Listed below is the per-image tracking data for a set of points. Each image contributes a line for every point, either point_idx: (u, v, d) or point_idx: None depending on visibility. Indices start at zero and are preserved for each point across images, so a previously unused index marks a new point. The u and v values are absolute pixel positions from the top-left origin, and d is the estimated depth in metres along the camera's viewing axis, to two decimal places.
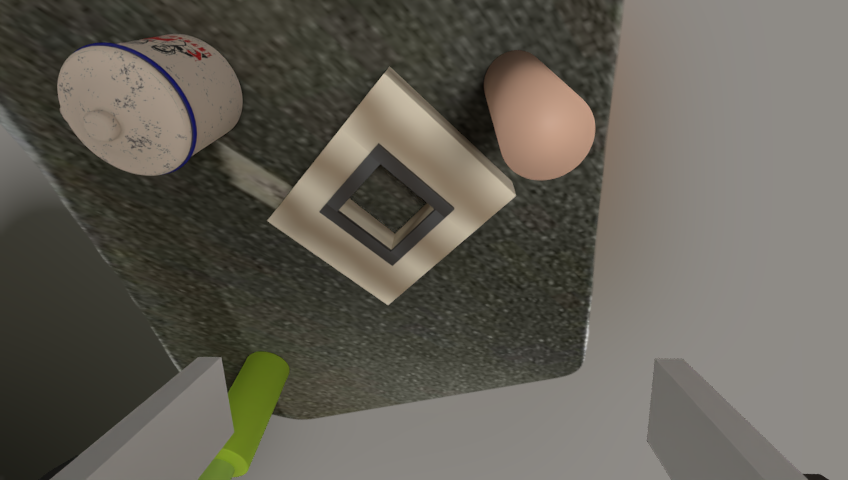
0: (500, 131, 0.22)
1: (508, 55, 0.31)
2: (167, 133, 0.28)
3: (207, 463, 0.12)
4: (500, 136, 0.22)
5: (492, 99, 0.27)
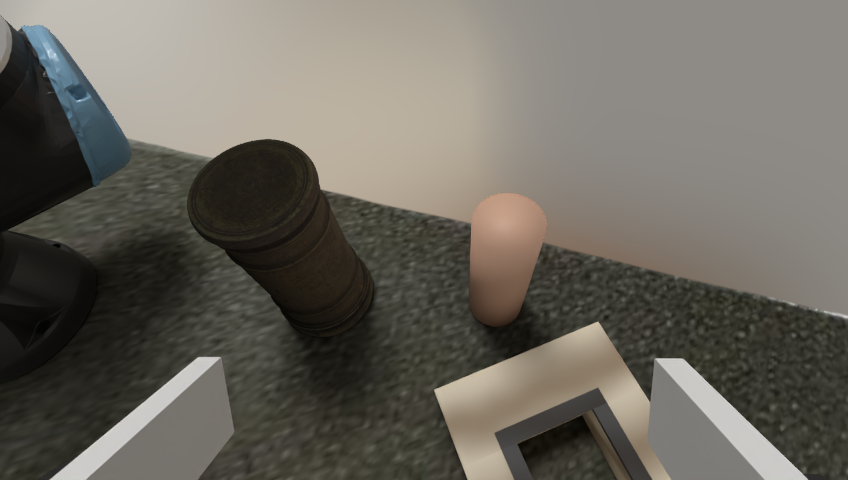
0: (491, 251, 0.26)
1: None
2: None
3: (207, 463, 0.12)
4: (495, 251, 0.26)
5: (483, 287, 0.32)
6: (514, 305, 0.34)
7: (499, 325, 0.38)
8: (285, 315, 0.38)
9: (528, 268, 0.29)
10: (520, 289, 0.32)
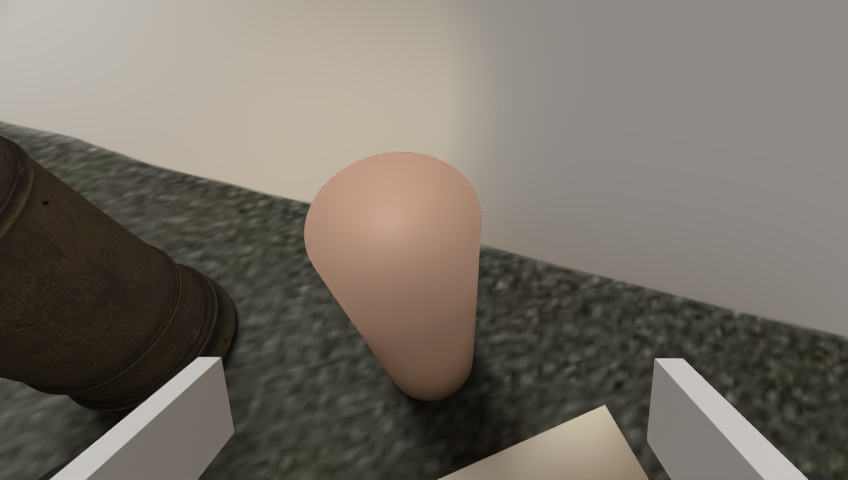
0: (338, 289, 0.11)
1: None
2: None
3: (207, 463, 0.12)
4: (345, 291, 0.10)
5: (374, 350, 0.16)
6: (447, 375, 0.18)
7: (432, 399, 0.22)
8: None
9: (448, 321, 0.13)
10: (447, 354, 0.16)
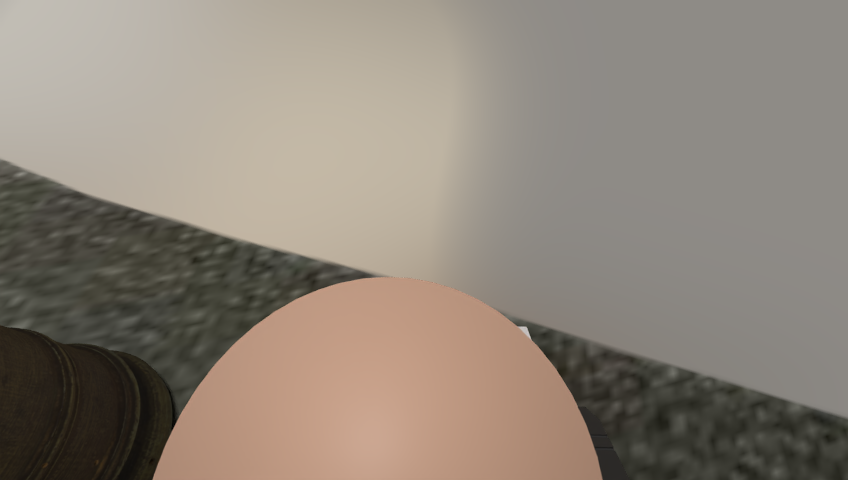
0: None
1: None
2: None
3: None
4: None
5: None
6: None
7: None
8: None
9: None
10: None
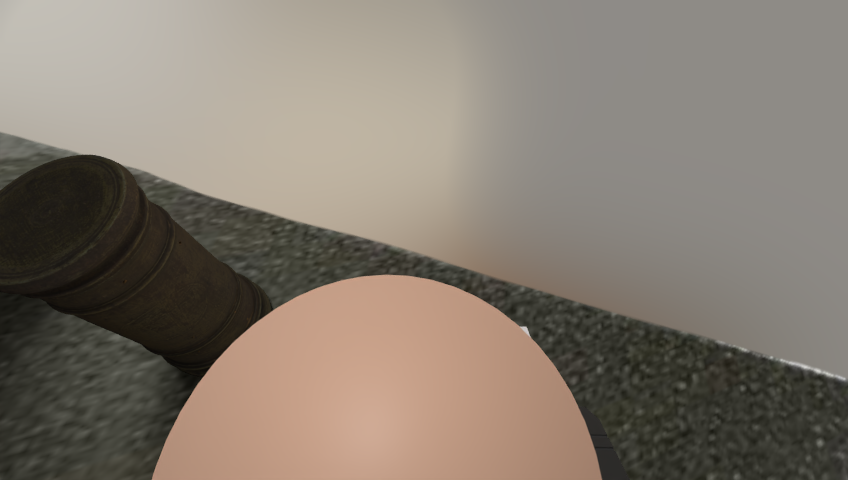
0: None
1: None
2: None
3: None
4: None
5: None
6: None
7: None
8: None
9: None
10: None
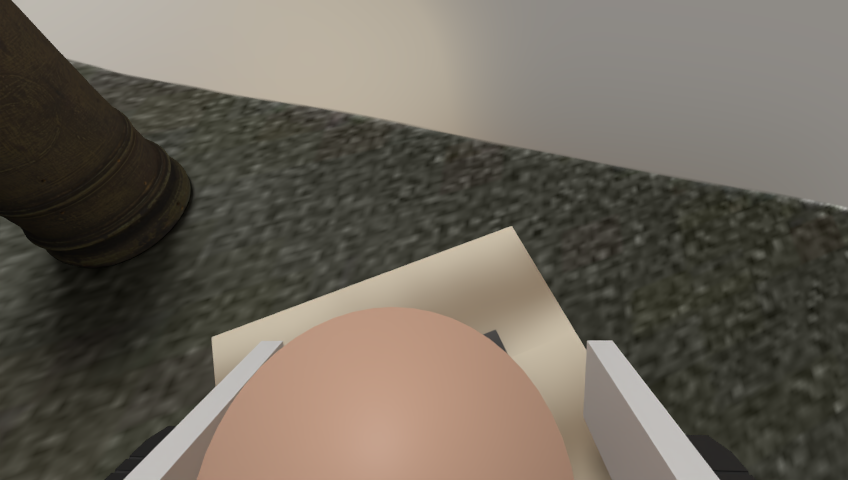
0: None
1: None
2: None
3: None
4: None
5: None
6: None
7: None
8: (22, 229, 0.23)
9: None
10: None
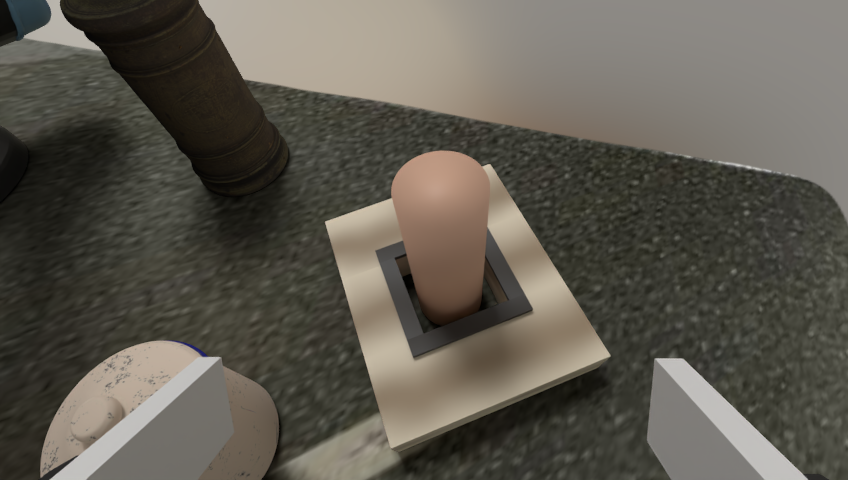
0: (413, 224, 0.20)
1: None
2: None
3: (207, 463, 0.12)
4: (417, 224, 0.19)
5: (420, 276, 0.25)
6: (465, 300, 0.27)
7: None
8: (195, 171, 0.39)
9: (470, 249, 0.22)
10: (467, 279, 0.25)
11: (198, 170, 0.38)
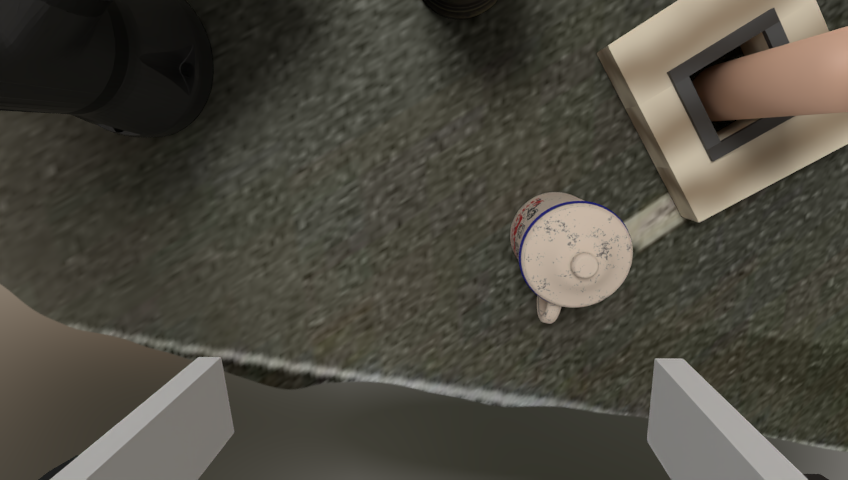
0: (835, 108, 0.25)
1: None
2: (604, 226, 0.32)
3: (207, 463, 0.12)
4: (840, 109, 0.24)
5: (759, 113, 0.30)
6: None
7: None
8: (433, 1, 0.35)
9: None
10: None
11: (439, 1, 0.35)
